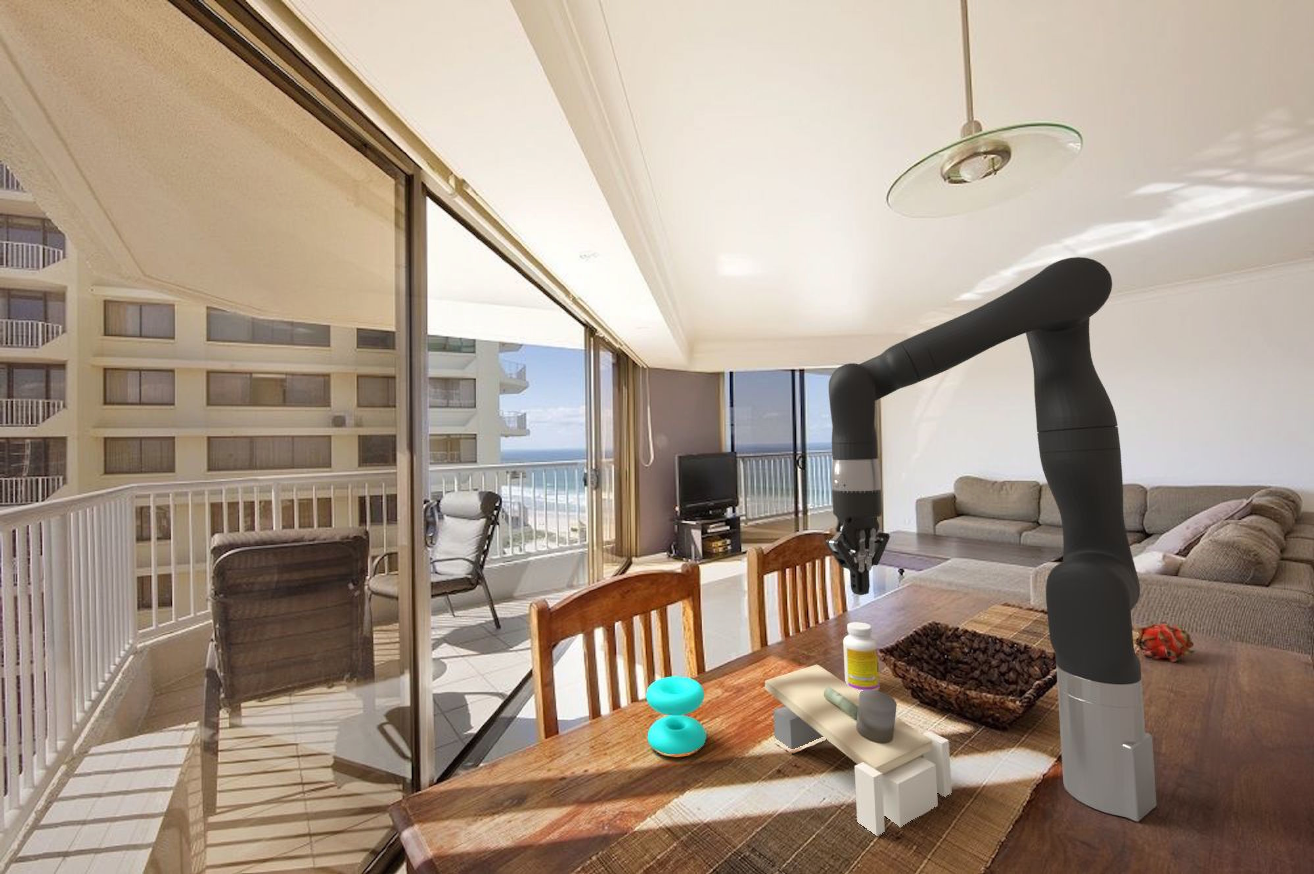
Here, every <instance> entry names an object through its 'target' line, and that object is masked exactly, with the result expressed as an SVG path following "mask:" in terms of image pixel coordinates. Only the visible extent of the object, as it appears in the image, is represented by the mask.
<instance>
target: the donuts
mask: <svg viewBox="0 0 1314 874" xmlns="http://www.w3.org/2000/svg"><path fill="white" fill-rule="evenodd" d="M645 696H646V701H647V702H646V703H648V705H649V706H650V708H652V709H653V710H654V711H656V712H657V713H660V714H661V715H662V714H663V715H667V716H664V717H663V716H662V717H661V718H659V719H657V720H655V721H654V722H653V723H652V725H651V726H650V728H649V730H648V734H647V741H648V745H649V744H650V745H651V746H652V748H654V749H656V750H658V751H660V752H663V753H666V754H682V753H689V752H692V751H695V750H696V749H699V748H700V747H701V746H703V747H704V745H705V744H704V743H706V741H707V740H706V739H707V733H706V729H705V727H704V726H703V725H702V723H700V722H699V721H698V720H697V719H695V718H693V717H691V716H688V715H687V714H690V713H692V712H695V711H696V710H697V709H698V708H700V707H701V705H702V704H703V702H704V699H705V691H704V688H703V686H702V685H701V684H700V683H699V682H698V681H697V680H695V679H693V678H689V677H684V676H667V677H663V678H659V679H657V680H655V681H654V682H652V683H651V684H650V685H649V686H648V688H647V690H646V695H645ZM705 740H706V741H705ZM703 744H704V745H703ZM650 745H649V746H650ZM651 746H650V747H651ZM652 748H651V749H652Z"/></svg>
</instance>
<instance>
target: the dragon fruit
mask: <svg viewBox="0 0 1314 874" xmlns="http://www.w3.org/2000/svg"><path fill="white" fill-rule="evenodd" d="M1137 633H1138V637H1137V638H1136V639H1135V645H1136V646H1137V647H1138V648H1139V649H1140V650H1141V651H1144V652H1143V654H1144V655H1143V656H1144V657H1145V658H1151V659H1154V660H1157V659H1161V658H1167V659H1169V661H1170V662H1171V663H1175V662H1177V661H1180V660H1181V656H1185V657H1187V656H1192V655H1193V654H1194V652H1195V651H1194V650H1191V648H1193V647H1194V642H1193V641H1192V638H1191V635H1190V633H1188V632H1187V631H1186V630H1184V629H1183V627H1182V626H1179V625H1175V626H1171V625H1169V624H1168V623H1167V622H1166V621H1161V624H1160V625H1159V624H1155V623H1152V622H1150V623H1149V624H1148V626H1144V627H1141V628H1139V629H1138V632H1137Z"/></svg>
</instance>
